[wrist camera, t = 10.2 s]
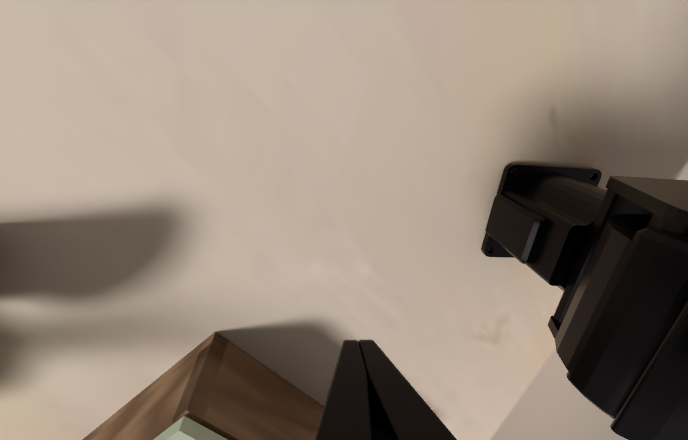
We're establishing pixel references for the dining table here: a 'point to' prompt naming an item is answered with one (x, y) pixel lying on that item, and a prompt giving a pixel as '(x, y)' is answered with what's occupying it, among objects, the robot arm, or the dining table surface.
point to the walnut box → (217, 400)
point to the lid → (188, 431)
